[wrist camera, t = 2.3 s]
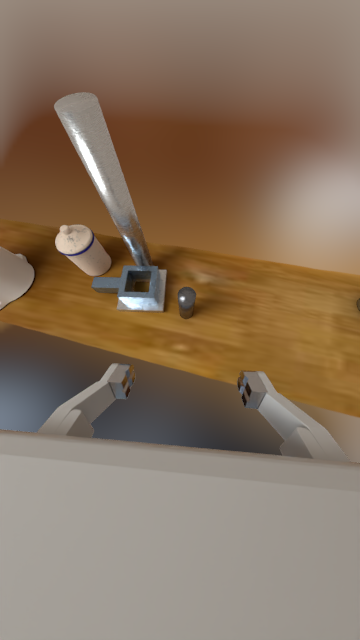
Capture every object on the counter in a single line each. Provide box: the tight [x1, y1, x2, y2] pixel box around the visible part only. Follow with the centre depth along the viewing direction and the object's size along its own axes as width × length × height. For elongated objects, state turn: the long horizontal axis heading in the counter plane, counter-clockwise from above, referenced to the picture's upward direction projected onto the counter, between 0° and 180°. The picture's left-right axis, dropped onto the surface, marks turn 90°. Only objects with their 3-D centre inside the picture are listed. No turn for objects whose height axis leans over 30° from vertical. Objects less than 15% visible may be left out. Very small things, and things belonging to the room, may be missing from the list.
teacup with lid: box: [55, 225, 111, 276], centre depth 34 cm, size 12×9×12 cm
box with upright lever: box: [54, 93, 167, 313], centre depth 24 cm, size 18×15×26 cm
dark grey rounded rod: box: [178, 287, 196, 319], centre depth 29 cm, size 3×3×10 cm
